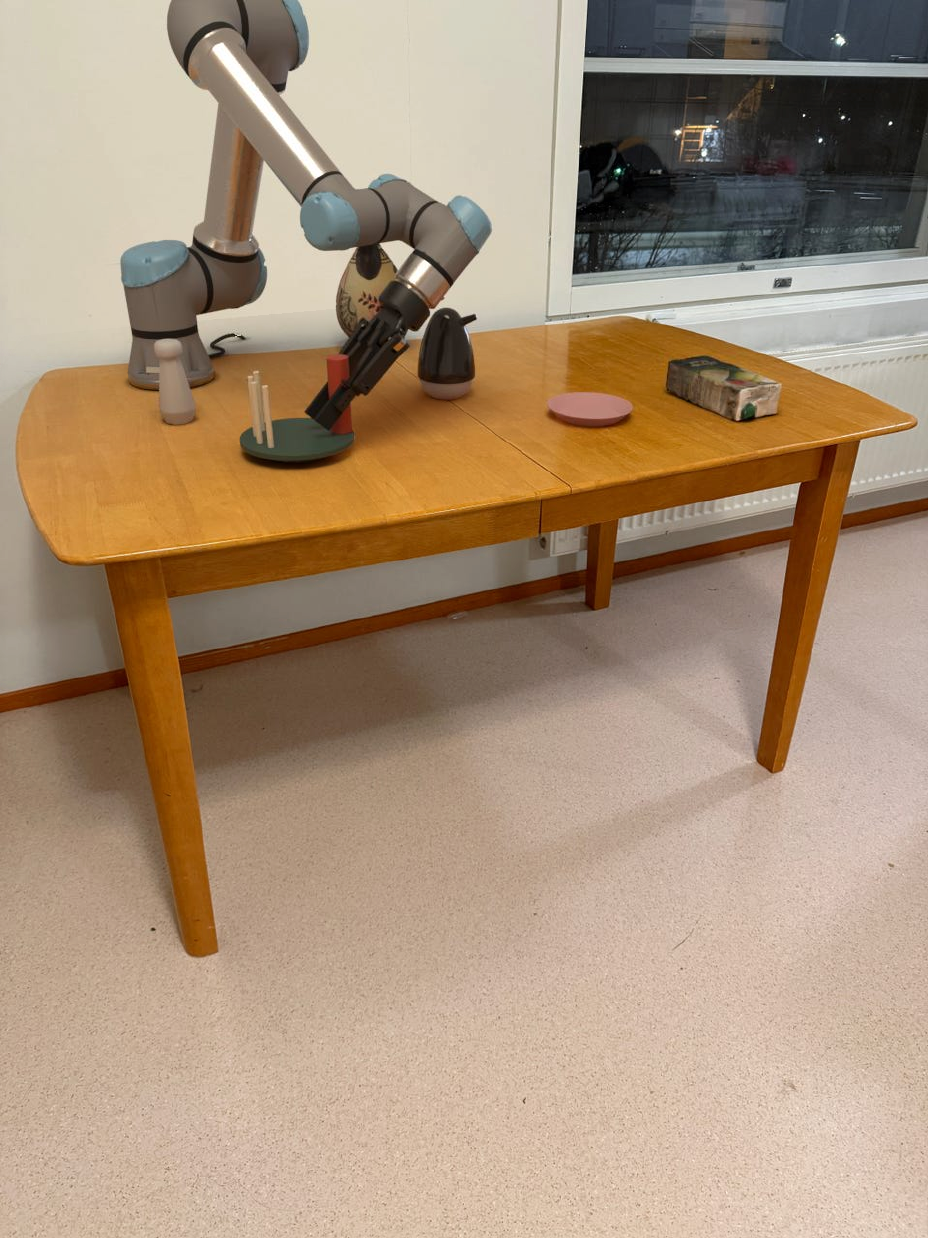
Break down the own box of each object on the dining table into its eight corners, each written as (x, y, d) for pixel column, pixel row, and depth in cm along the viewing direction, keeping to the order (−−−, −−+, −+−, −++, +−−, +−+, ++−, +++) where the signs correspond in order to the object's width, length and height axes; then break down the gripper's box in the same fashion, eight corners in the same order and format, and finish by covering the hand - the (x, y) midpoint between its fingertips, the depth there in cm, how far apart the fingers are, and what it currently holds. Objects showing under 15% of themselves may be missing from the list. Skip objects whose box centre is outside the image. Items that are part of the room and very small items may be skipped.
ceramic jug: (348, 338, 199) (340, 186, 184) (418, 341, 197) (416, 188, 182) (327, 358, 184) (316, 195, 169) (403, 362, 183) (399, 197, 167)
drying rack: (250, 471, 129) (239, 381, 123) (233, 433, 143) (223, 350, 136) (367, 457, 134) (363, 370, 128) (340, 422, 148) (335, 342, 142)
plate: (582, 398, 163) (583, 386, 162) (648, 416, 155) (649, 405, 154) (528, 415, 155) (529, 403, 154) (595, 436, 146) (596, 423, 145)
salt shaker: (204, 417, 152) (193, 337, 145) (184, 428, 147) (172, 346, 141) (174, 413, 154) (162, 334, 147) (153, 423, 149) (140, 342, 142)
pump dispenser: (469, 406, 159) (471, 315, 151) (411, 401, 160) (409, 312, 153) (480, 389, 167) (482, 302, 160) (425, 385, 169) (424, 299, 161)
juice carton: (783, 415, 156) (790, 379, 153) (740, 424, 152) (745, 387, 149) (703, 386, 171) (708, 352, 168) (662, 393, 167) (665, 359, 164)
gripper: (455, 322, 132) (355, 451, 133) (404, 301, 144) (314, 420, 146) (421, 287, 127) (318, 422, 128) (372, 269, 139) (279, 392, 141)
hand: (316, 421), depth 137 cm, fingers open, 3 cm apart
